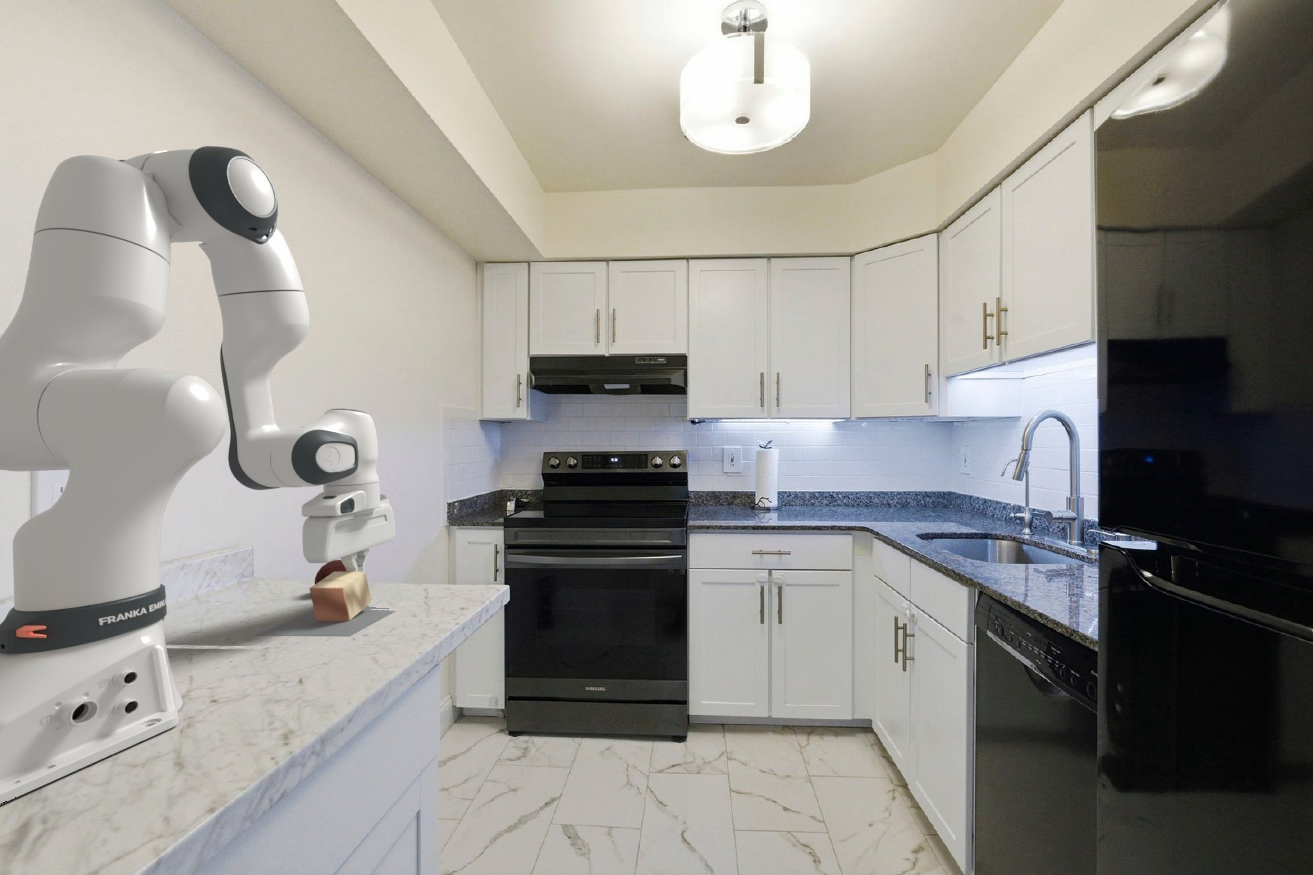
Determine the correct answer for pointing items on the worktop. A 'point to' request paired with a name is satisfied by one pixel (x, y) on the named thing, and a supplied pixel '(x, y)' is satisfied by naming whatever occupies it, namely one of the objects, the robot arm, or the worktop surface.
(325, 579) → the block
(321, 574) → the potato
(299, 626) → the mat
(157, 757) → the worktop surface
